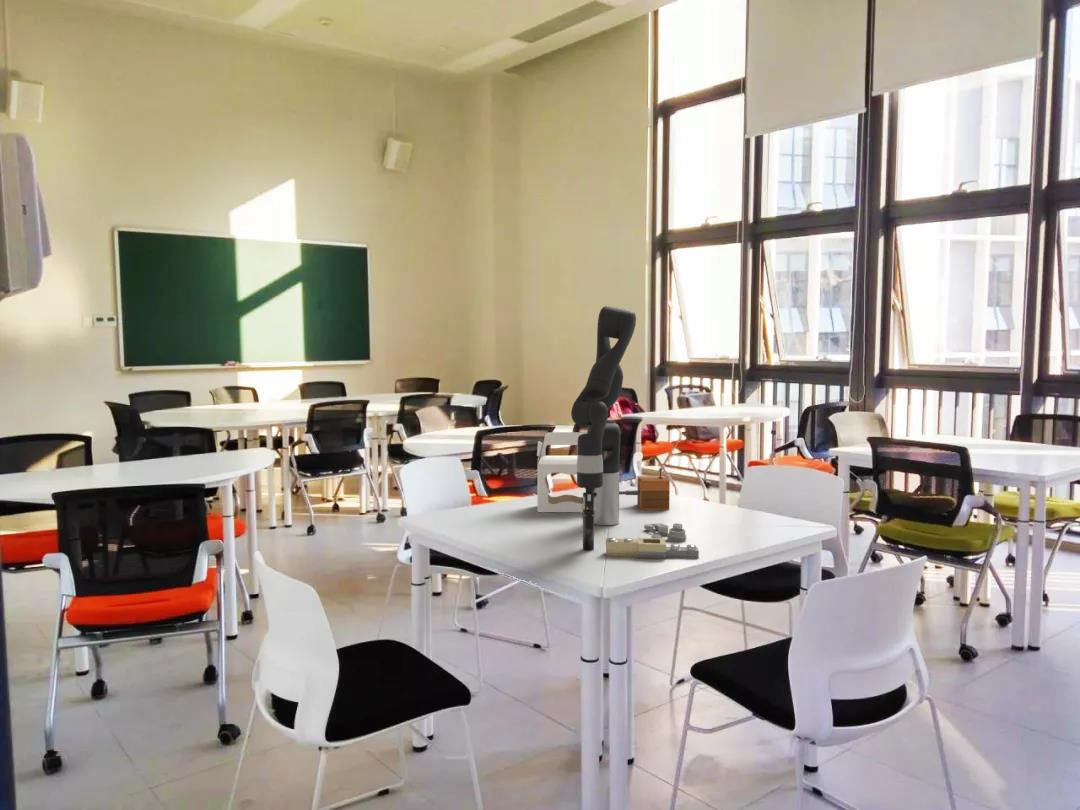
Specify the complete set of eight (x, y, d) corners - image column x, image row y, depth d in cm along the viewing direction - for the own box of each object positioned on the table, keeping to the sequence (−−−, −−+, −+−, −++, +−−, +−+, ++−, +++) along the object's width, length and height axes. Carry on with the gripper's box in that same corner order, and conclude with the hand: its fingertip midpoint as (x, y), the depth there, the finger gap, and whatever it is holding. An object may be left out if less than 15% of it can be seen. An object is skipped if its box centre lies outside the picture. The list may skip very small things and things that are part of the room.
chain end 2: (637, 551, 231) (637, 541, 230) (696, 552, 229) (696, 542, 229) (638, 558, 223) (638, 547, 223) (699, 559, 221) (699, 549, 221)
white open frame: (597, 505, 298) (597, 430, 296) (599, 513, 285) (599, 434, 283) (537, 505, 299) (537, 430, 297) (536, 513, 285) (536, 434, 284)
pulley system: (692, 534, 257) (646, 527, 262) (693, 519, 256) (647, 513, 261) (678, 558, 231) (626, 551, 236) (679, 542, 231) (627, 535, 235)
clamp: (610, 504, 300) (610, 466, 299) (664, 504, 301) (664, 466, 300) (614, 510, 290) (614, 471, 289) (669, 510, 290) (669, 470, 289)
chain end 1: (606, 550, 232) (606, 535, 231) (664, 552, 230) (664, 536, 230) (605, 557, 224) (605, 541, 224) (666, 559, 222) (666, 543, 222)
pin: (581, 547, 236) (581, 502, 235) (595, 547, 235) (595, 503, 234) (581, 550, 232) (581, 505, 231) (595, 551, 231) (595, 505, 230)
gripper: (602, 473, 224) (602, 531, 225) (603, 467, 238) (603, 521, 239) (575, 473, 225) (575, 531, 226) (577, 466, 239) (578, 521, 240)
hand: (589, 526), depth 232 cm, fingers open, 8 cm apart
